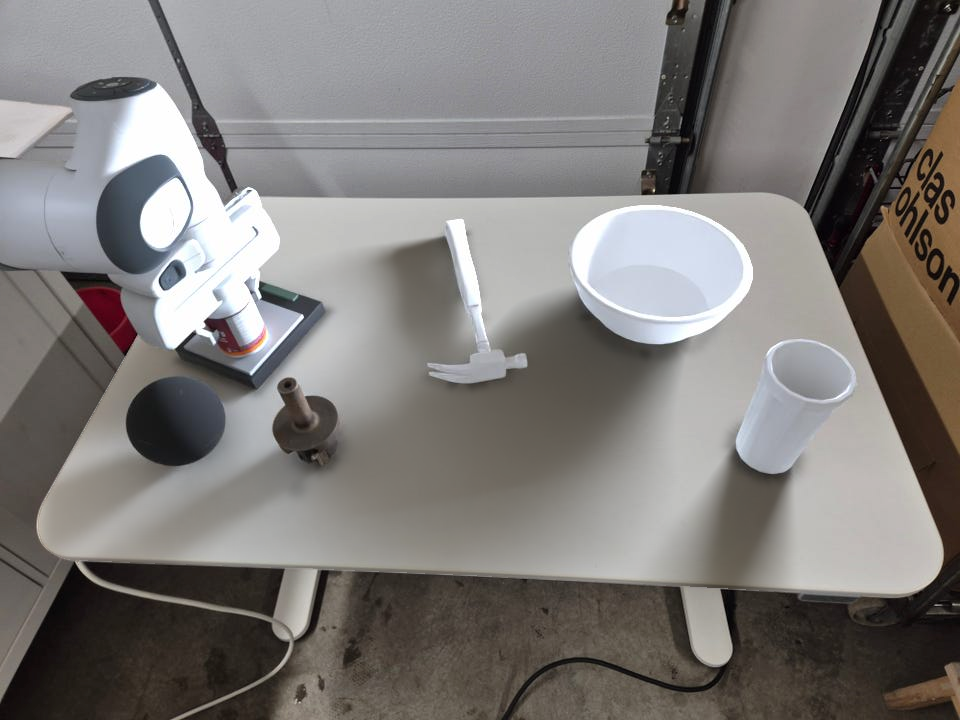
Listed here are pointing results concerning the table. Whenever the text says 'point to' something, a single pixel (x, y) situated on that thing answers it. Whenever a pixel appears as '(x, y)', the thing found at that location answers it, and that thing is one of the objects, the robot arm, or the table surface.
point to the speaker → (175, 421)
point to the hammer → (473, 320)
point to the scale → (285, 328)
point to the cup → (792, 402)
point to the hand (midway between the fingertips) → (233, 320)
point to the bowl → (658, 272)
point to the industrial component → (306, 424)
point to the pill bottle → (237, 319)
